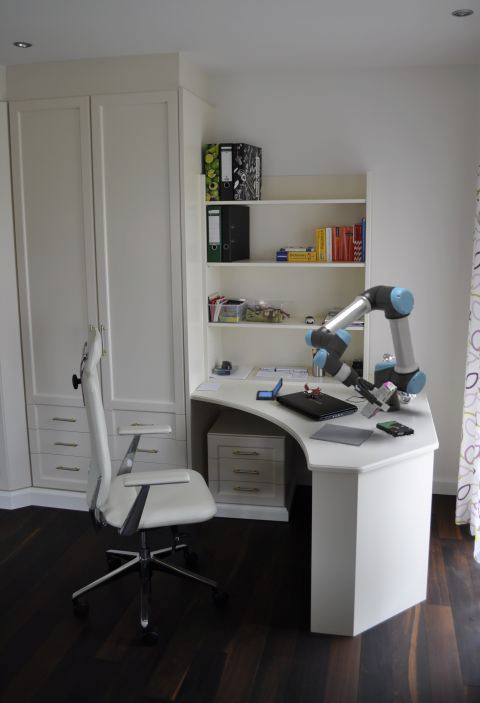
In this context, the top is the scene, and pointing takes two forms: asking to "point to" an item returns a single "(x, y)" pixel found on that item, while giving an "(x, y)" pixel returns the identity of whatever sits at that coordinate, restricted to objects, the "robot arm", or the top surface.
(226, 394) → the top surface
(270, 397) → the handheld game console
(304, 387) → the figurine
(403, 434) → the disk drive
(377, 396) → the candy bar box
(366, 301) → the robot arm
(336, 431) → the slate mat
